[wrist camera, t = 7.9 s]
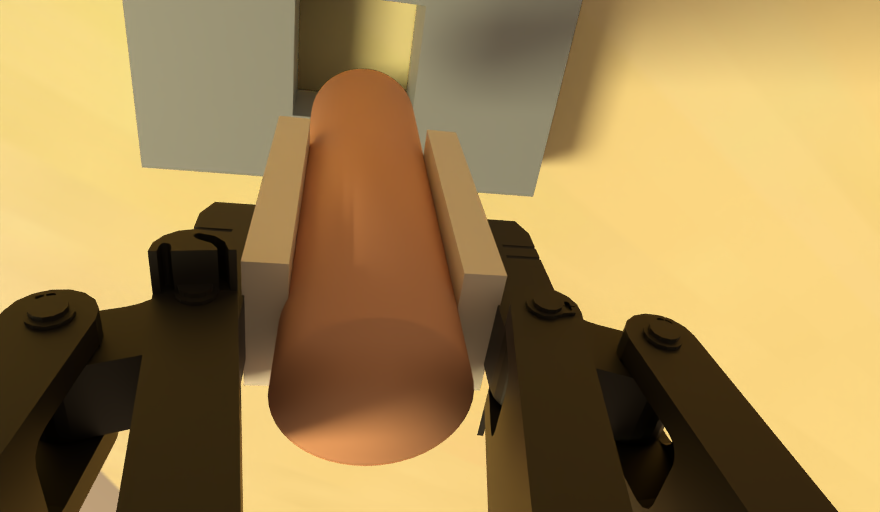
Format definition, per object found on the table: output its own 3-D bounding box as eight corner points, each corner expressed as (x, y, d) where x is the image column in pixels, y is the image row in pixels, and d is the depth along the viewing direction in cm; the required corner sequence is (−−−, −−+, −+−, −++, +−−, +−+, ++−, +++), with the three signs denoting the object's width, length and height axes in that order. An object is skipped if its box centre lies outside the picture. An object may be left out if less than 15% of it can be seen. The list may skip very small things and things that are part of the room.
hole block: (160, 136, 27) (142, 167, 25) (134, -133, 22) (107, -128, 20) (517, 166, 30) (532, 196, 28) (571, -66, 25) (595, -55, 22)
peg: (309, 161, 21) (267, 465, 11) (313, 63, 19) (268, 312, 9) (407, 170, 21) (456, 466, 11) (420, 74, 19) (490, 322, 9)
